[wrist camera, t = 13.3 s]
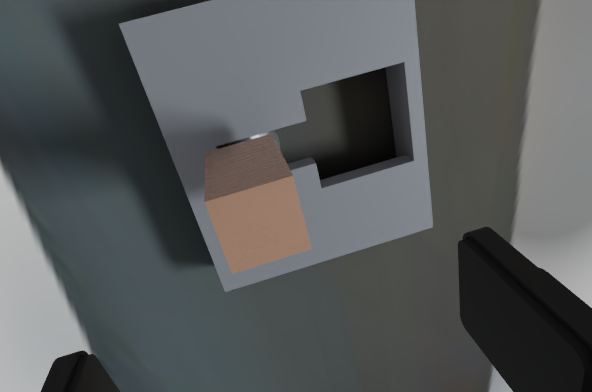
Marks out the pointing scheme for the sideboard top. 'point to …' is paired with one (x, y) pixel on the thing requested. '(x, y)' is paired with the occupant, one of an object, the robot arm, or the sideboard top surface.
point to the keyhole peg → (254, 202)
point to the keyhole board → (288, 109)
